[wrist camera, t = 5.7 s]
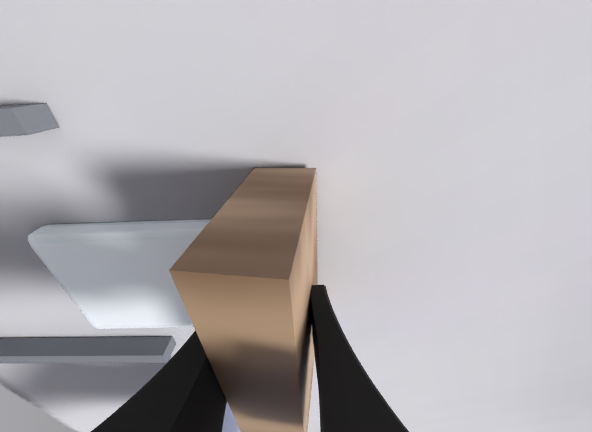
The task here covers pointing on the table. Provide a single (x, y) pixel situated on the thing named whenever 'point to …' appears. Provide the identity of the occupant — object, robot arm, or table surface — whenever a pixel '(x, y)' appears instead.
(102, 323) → the external hard drive
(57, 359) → the dock frame
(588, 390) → the table surface
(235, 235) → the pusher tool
